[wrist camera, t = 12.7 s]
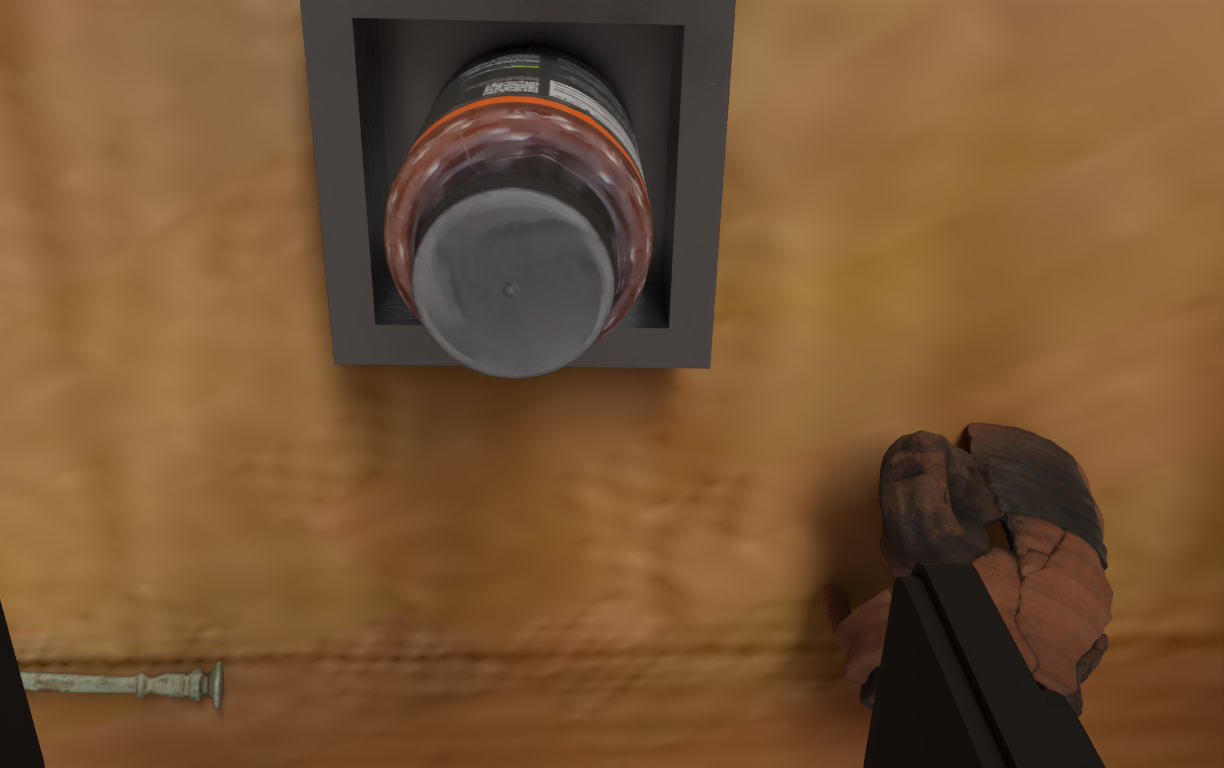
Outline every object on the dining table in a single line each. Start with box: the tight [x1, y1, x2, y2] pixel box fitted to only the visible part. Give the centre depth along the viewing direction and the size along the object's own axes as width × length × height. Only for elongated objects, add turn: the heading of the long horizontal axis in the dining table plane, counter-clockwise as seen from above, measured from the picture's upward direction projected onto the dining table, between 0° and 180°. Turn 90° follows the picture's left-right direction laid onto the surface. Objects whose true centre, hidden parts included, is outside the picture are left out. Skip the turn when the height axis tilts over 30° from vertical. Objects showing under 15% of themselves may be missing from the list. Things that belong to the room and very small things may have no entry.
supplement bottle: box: [384, 44, 653, 379], centre depth 27 cm, size 6×6×11 cm
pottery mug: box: [823, 423, 1113, 717], centre depth 37 cm, size 12×9×8 cm
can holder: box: [300, 0, 736, 369], centre depth 31 cm, size 10×10×4 cm
